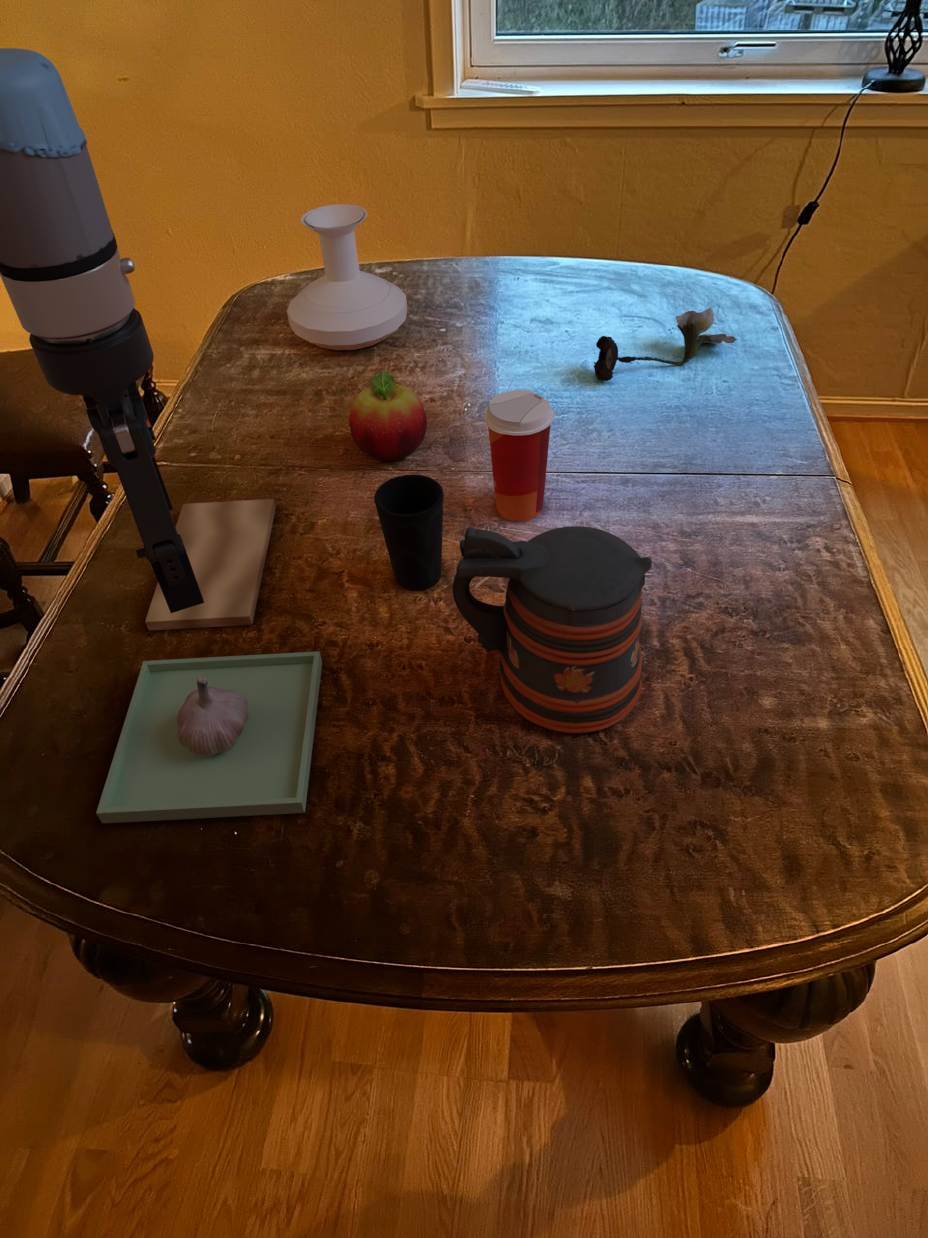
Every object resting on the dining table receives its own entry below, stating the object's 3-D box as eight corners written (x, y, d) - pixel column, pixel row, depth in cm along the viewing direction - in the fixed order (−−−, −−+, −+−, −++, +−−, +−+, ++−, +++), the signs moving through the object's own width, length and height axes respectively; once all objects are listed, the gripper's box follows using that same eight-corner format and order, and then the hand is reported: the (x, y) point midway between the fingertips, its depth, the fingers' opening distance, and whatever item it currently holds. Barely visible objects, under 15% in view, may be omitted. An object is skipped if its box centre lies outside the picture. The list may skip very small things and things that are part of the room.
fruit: (351, 474, 121) (340, 410, 114) (355, 430, 129) (346, 368, 122) (429, 469, 121) (423, 405, 114) (429, 426, 129) (423, 363, 122)
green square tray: (102, 823, 83) (95, 813, 82) (148, 671, 97) (143, 660, 96) (305, 813, 83) (301, 802, 82) (322, 662, 97) (319, 651, 95)
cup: (378, 592, 104) (364, 511, 96) (396, 550, 109) (385, 470, 101) (441, 600, 103) (433, 519, 94) (457, 558, 108) (451, 477, 99)
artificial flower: (584, 372, 140) (588, 306, 135) (713, 364, 145) (721, 300, 140) (606, 385, 132) (611, 315, 128) (741, 376, 137) (750, 309, 133)
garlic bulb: (237, 694, 93) (218, 641, 87) (269, 737, 89) (251, 685, 83) (169, 729, 90) (146, 677, 84) (199, 776, 86) (176, 724, 80)
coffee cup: (521, 480, 118) (521, 379, 108) (564, 508, 114) (568, 405, 103) (473, 506, 115) (468, 405, 104) (516, 536, 110) (515, 433, 100)
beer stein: (457, 739, 88) (444, 593, 74) (460, 633, 99) (449, 488, 85) (649, 736, 87) (672, 587, 73) (632, 630, 98) (649, 482, 84)
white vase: (290, 314, 157) (267, 201, 143) (401, 299, 159) (389, 186, 145) (295, 369, 143) (271, 249, 129) (417, 352, 145) (406, 232, 131)
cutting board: (148, 631, 101) (144, 621, 100) (185, 512, 117) (182, 503, 116) (252, 625, 101) (249, 615, 100) (276, 507, 117) (273, 498, 116)
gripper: (171, 389, 53) (249, 635, 68) (113, 244, 69) (186, 467, 84) (41, 422, 51) (151, 668, 66) (13, 264, 68) (106, 489, 82)
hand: (171, 556), depth 75 cm, fingers open, 13 cm apart
